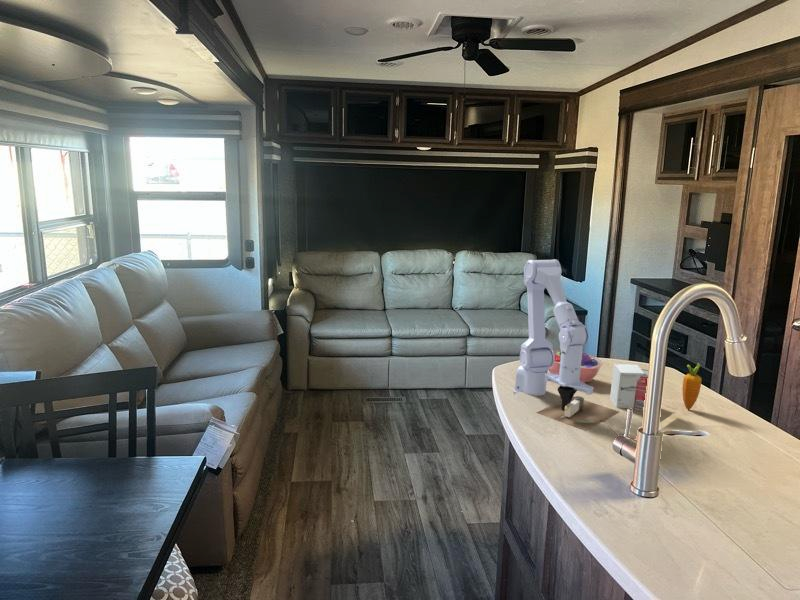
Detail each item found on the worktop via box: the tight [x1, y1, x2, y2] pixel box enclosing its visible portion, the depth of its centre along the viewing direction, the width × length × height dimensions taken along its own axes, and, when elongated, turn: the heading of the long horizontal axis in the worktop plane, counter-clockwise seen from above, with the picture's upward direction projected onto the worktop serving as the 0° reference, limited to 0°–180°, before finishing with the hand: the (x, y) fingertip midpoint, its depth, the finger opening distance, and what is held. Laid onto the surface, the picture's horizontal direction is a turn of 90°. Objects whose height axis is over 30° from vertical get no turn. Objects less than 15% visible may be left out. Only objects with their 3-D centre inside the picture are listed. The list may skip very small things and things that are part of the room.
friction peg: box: [564, 395, 585, 417], centre depth 168 cm, size 3×11×4 cm, turn 141°
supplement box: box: [609, 363, 645, 409], centre depth 175 cm, size 7×7×13 cm
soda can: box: [633, 368, 649, 412], centre depth 174 cm, size 7×7×12 cm
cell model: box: [548, 350, 603, 384], centre depth 197 cm, size 17×20×11 cm
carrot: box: [682, 363, 702, 411], centre depth 175 cm, size 5×5×15 cm
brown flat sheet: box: [536, 395, 620, 432], centre depth 169 cm, size 16×20×1 cm
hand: (565, 410), depth 167 cm, fingers closed, pressing on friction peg
